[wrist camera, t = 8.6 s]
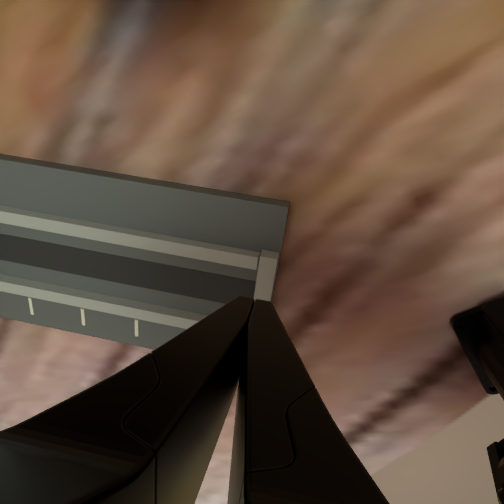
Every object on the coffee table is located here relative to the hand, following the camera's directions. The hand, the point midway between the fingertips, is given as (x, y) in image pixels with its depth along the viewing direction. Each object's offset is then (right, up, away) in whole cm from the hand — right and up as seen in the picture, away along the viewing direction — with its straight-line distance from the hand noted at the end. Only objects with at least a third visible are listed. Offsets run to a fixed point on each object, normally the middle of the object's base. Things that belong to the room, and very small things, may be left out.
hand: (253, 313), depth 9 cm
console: (-11, +1, +15) cm, 19 cm away
